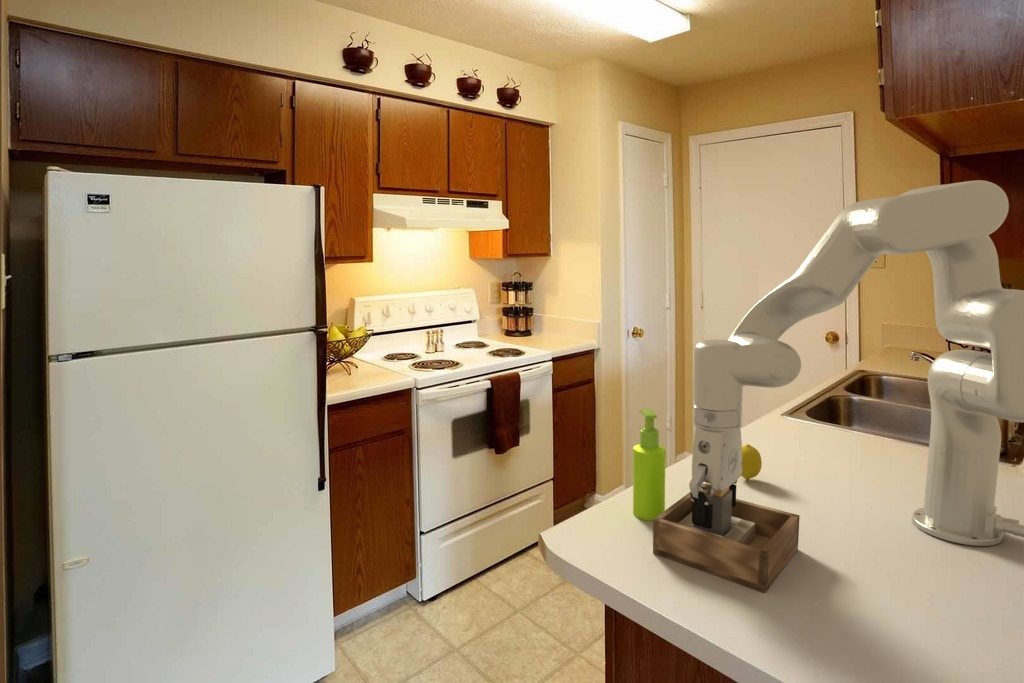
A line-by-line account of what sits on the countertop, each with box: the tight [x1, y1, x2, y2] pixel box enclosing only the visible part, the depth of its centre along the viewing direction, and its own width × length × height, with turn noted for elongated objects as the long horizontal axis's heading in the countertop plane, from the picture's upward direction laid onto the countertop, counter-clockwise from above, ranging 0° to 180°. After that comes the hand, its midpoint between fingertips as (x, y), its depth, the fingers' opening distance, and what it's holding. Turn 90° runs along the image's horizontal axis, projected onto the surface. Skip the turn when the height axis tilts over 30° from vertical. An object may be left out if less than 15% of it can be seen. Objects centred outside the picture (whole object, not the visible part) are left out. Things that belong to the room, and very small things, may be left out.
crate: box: [652, 491, 801, 594], centre depth 95 cm, size 18×16×6 cm
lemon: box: [740, 443, 763, 481], centre depth 124 cm, size 6×6×8 cm
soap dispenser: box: [632, 408, 666, 522], centre depth 109 cm, size 6×7×20 cm
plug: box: [698, 482, 732, 536], centre depth 96 cm, size 4×4×10 cm
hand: (714, 515), depth 96 cm, fingers open, 9 cm apart
